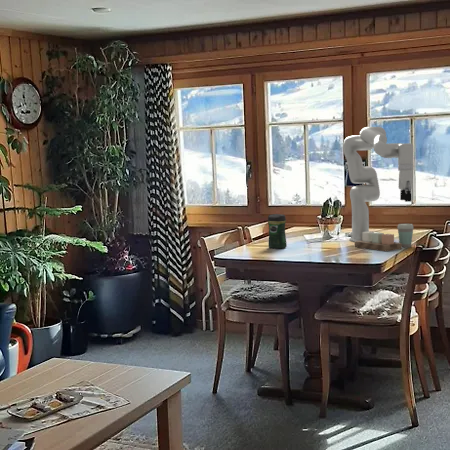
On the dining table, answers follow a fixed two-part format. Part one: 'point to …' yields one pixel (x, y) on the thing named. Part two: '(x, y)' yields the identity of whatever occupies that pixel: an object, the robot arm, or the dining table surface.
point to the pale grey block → (367, 236)
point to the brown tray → (378, 246)
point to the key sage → (377, 237)
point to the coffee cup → (405, 234)
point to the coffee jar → (277, 231)
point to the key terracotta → (388, 239)
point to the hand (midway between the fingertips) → (405, 200)
